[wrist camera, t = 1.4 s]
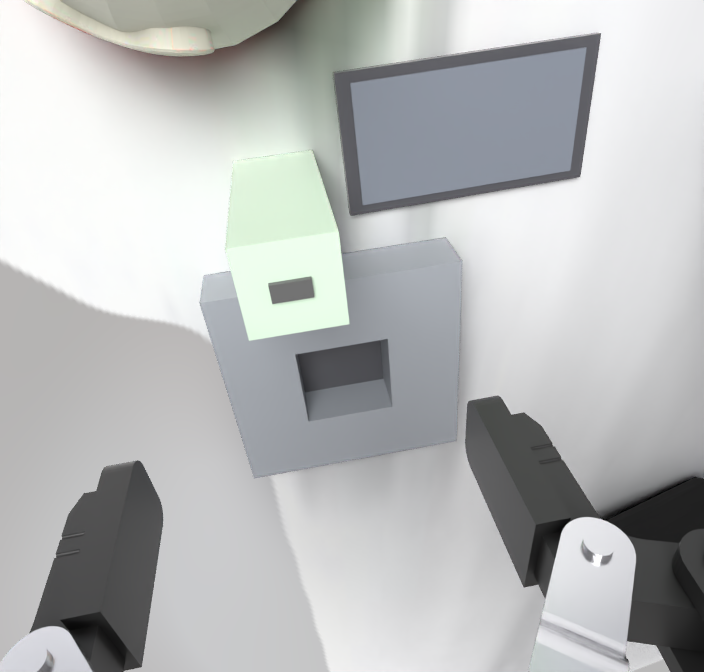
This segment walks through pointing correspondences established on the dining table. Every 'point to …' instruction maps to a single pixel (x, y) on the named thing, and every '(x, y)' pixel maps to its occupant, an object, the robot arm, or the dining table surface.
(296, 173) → the block
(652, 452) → the dining table surface
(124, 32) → the kitchen timer
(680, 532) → the bottle
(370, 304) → the plate
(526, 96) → the panel
